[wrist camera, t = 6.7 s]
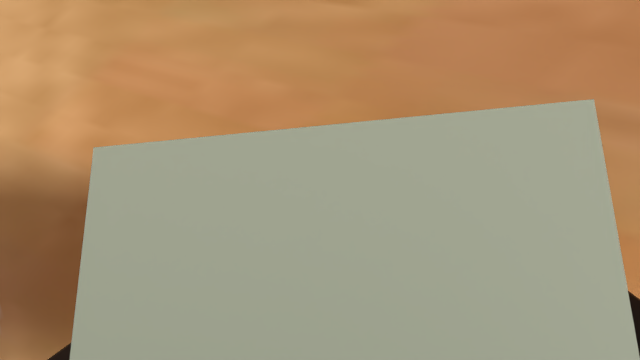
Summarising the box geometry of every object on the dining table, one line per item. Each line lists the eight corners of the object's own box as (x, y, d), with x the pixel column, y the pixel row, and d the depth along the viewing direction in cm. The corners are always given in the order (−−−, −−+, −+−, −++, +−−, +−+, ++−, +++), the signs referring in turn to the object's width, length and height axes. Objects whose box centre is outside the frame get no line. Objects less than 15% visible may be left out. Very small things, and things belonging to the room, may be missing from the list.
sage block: (510, 456, 13) (728, 853, 3) (303, 447, 14) (27, 725, 4) (488, 243, 14) (594, 98, 5) (302, 250, 15) (93, 147, 6)
